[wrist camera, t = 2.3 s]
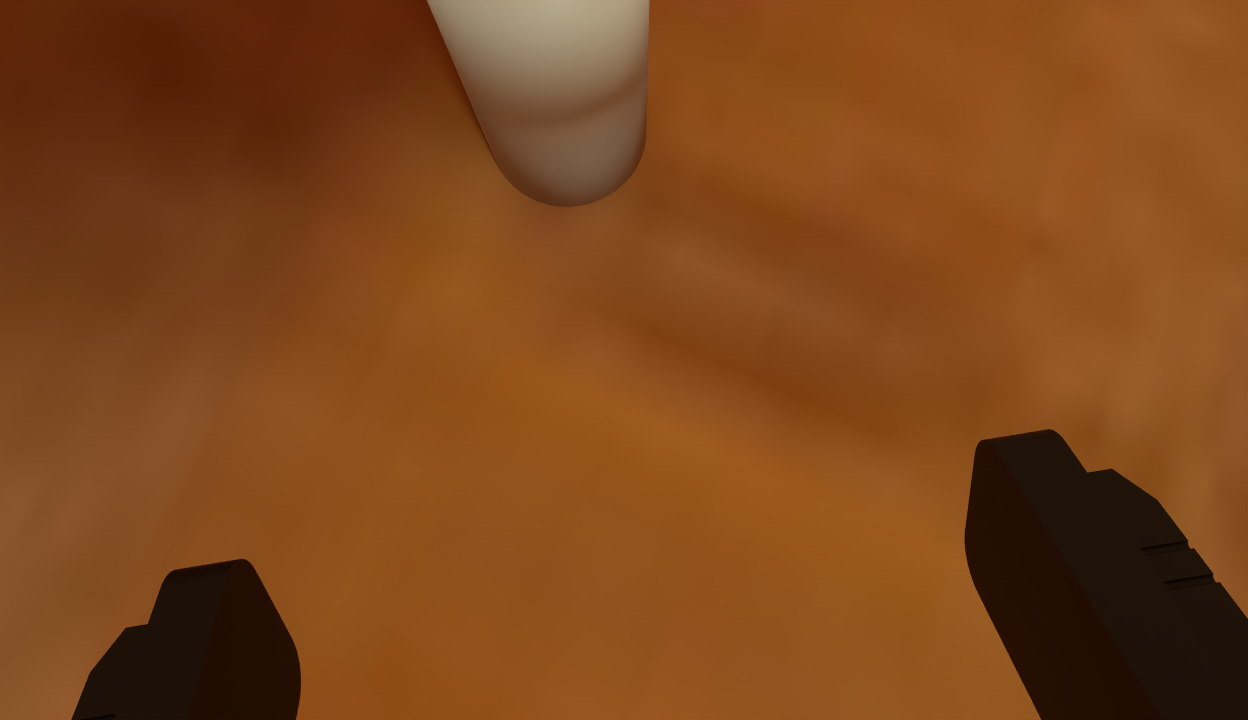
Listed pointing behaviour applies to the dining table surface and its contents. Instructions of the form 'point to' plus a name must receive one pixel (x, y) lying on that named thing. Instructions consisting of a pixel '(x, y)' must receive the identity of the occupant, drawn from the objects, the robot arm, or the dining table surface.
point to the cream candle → (555, 89)
